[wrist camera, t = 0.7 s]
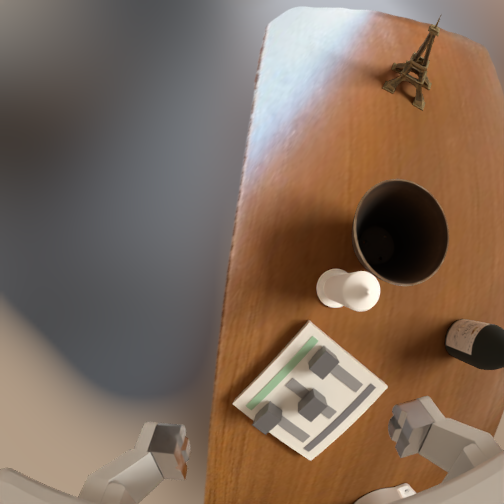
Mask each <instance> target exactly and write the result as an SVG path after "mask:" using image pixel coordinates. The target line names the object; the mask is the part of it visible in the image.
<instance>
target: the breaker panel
mask: <svg viewBox="0 0 504 504" xmlns="http://www.w3.org/2000/svg"><path fill="white" fill-rule="evenodd" d="M323 345H324V346H325V347H326V348H327V349H329V350H330V351H331V352H332V353H334V354H335V355H336V356H337V358H338V360H339V363H338V364H337V365H336V366H335V368H334V369H333V370H332V371H331V372H330V373H329V374H328V375H327V376H326V377H325V378H324V379H323V380H322V379H321V378H319V377H318V376H317V375H316V374H314V373H313V372H312V371H311V370H309V365H308V362H309V361H310V360H311V358H312V357H313V356H314V355H315V354H316V353H317V352H318V351H319V350H320V349H321V347H322V346H323ZM312 388H314V389H316V390H317V391H318V392H319V393H321V394H322V395H323V396H325V398H326V402H327V407H326V408H325V409H324V410H323V411H322V412H321V413H320V414H319V415H318V416H317V417H316V418H315V419H314V420H313V421H312V422H310V421H308V420H307V419H306V418H304V417H303V416H302V415H300V414H299V413H298V402H299V401H300V400H301V399H302V398H303V397H304V396H305V395H306V394H307V393H308V392H309V391H310V390H311V389H312ZM387 388H388V386H387V385H386V384H385V383H384V382H383V381H382V380H381V379H380V378H378V377H377V376H376V375H375V374H374V373H372V372H371V371H370V370H369V369H367V368H366V367H365V366H364V365H363V364H361V363H360V362H359V361H358V360H356V359H355V358H354V357H353V356H352V355H350V354H349V353H348V352H347V351H346V350H344V349H343V348H342V347H341V346H340V345H338V344H337V343H336V342H335V341H334V340H332V339H331V338H330V337H329V336H327V335H326V334H325V333H324V332H323V331H321V330H320V329H319V328H318V327H317V326H316V325H314V324H313V323H312V322H311V321H310V320H308V321H307V323H306V324H305V325H304V326H303V327H302V328H301V330H300V331H299V332H298V333H297V334H296V335H295V336H294V337H293V339H292V340H291V341H290V342H289V343H288V344H287V345H286V346H285V347H284V348H283V350H282V351H281V352H280V353H279V354H278V355H277V356H276V357H275V358H274V359H273V360H272V361H271V363H270V364H269V365H268V366H267V367H266V368H265V369H264V370H263V371H262V372H261V373H260V374H259V375H258V376H257V377H256V378H255V379H254V380H253V381H252V382H251V383H250V384H249V385H248V386H247V387H246V388H245V389H244V390H243V391H242V392H241V393H240V394H239V395H238V396H237V397H236V398H235V400H234V402H233V405H234V406H236V407H237V408H238V409H239V410H241V411H242V412H243V413H244V414H246V415H247V416H248V417H250V418H251V419H252V420H253V421H254V418H255V415H256V414H257V413H258V412H259V411H260V410H261V409H262V408H263V407H264V406H265V405H266V404H268V403H269V402H270V401H271V402H272V403H273V404H275V405H276V406H277V407H278V408H280V409H281V410H282V419H281V421H280V422H279V423H278V424H277V425H276V426H275V427H274V428H273V429H272V430H270V431H269V433H271V434H272V435H274V436H275V437H276V438H278V439H279V440H281V441H282V442H283V443H285V444H286V445H288V446H289V447H291V448H292V449H294V450H295V451H297V452H298V453H300V454H301V455H303V456H304V457H306V458H307V459H309V460H310V461H311V460H312V459H313V458H315V457H316V456H317V455H318V454H319V453H321V452H322V451H323V450H324V449H325V448H327V447H328V446H329V445H330V444H331V443H332V442H333V441H335V440H336V439H337V438H338V437H339V436H340V435H341V434H342V433H343V432H344V431H345V430H347V429H348V428H349V427H350V426H351V425H352V424H353V423H354V422H355V421H356V420H357V419H358V418H359V417H360V416H361V415H362V414H363V413H364V412H365V411H366V410H367V409H368V408H369V407H370V406H371V405H372V404H373V403H374V402H375V401H376V400H377V398H378V397H379V396H380V395H381V394H382V393H383V392H384V391H385V390H386V389H387Z"/></svg>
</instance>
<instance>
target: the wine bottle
mask: <svg viewBox="0 0 504 504" xmlns="http://www.w3.org/2000/svg"><path fill="white" fill-rule="evenodd" d="M445 346H446V350H447V351H448V353H449V354H450V355H451V356H453V357H455V358H457V359H459V360H461V361H463V362H465V363H468V364H470V365H472V366H474V367H477V368H479V369H484V370H495V369H499V368H503V367H504V329H502V328H501V327H499V326H497V325H494V324H489V323H483V322H478V321H473V320H467V319H460V320H457V321H456V322H454V323H453V324H452V325H451V326H450V328H449V329H448V331H447V334H446V337H445Z"/></svg>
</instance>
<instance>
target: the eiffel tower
mask: <svg viewBox="0 0 504 504" xmlns="http://www.w3.org/2000/svg"><path fill="white" fill-rule="evenodd" d="M438 22H439V20H438ZM438 22H437V24H436V26H435V25H433V24H431V26H429V29H428V31H429V32H430V33H429V34H428V36H427V38H426V39H425V41H424V42H423V44H422V45H421V47H420V48H419V50H418V51H417V53H415V52H414V53H413V55H412V57H411V59H410V61H406V63H398V64H396V63H394V65H393V67H392V70H394V71H396V72H398V73H399V74H401V75H400V76H399V77H398V78H395V79H392V80H389V81H388V82H387V81H386V82H385V84H384V86H383V89H385V90H387V91H388V92H390V93H392V94H393V93H394V91H395V88H396V87H397V86H398V85H399V84H400V83H401V82H402V81H407V82H410V83H411V84H413V85H414V86H415V87H416V97H415V99H414V102H413V104H412V105H414V106H416V107H417V108H419V109H421V110H422V111H423V108H424V105H425V102H424V98H423V94H422V88H421V86H423V87H425V88H426V89H428V90H430V87H431V84H432V83H430V82H429V79H428V77H427V75H426V74H427V68H428V65H429V60H428V57H429V54H430V51H431V47H432V44H433V41H434V38H435V35H437V36H439V32H440V31H439V30H440V28H438V27H437V25H438ZM428 43H429V44H428ZM427 45H428V46H427ZM426 47H427V49H426ZM425 49H426V53H425V56H424V58H423V57H421V55H422V53H423V52H424V50H425ZM419 64H420V65H419ZM410 71H411V72H413V73H415V74H417V75H418V77H419V79H416V78H414V77H412V76H411V75H409V74H408V73H409V72H410Z"/></svg>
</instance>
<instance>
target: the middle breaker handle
mask: <svg viewBox="0 0 504 504" xmlns="http://www.w3.org/2000/svg"><path fill="white" fill-rule="evenodd" d="M326 407H327V402H326V398H325V396H323V395H322V394H321V393H319V392H318V391H317V390H316V389H314V388H312V389H311V390H310V391H309V392H308V393H307V394H306V395H305V396H304V397H303V398H302V399H301V400H300V401H299V402H298V413H299V414H300V415H302V416H303V417H304V418H306V419H307V420H308V421H310V422H312V421H313V420H314V419H315V418H316V417H317V416H318V415H319V414H320V413H321V412H322V411H323V410H324V409H325V408H326Z"/></svg>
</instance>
